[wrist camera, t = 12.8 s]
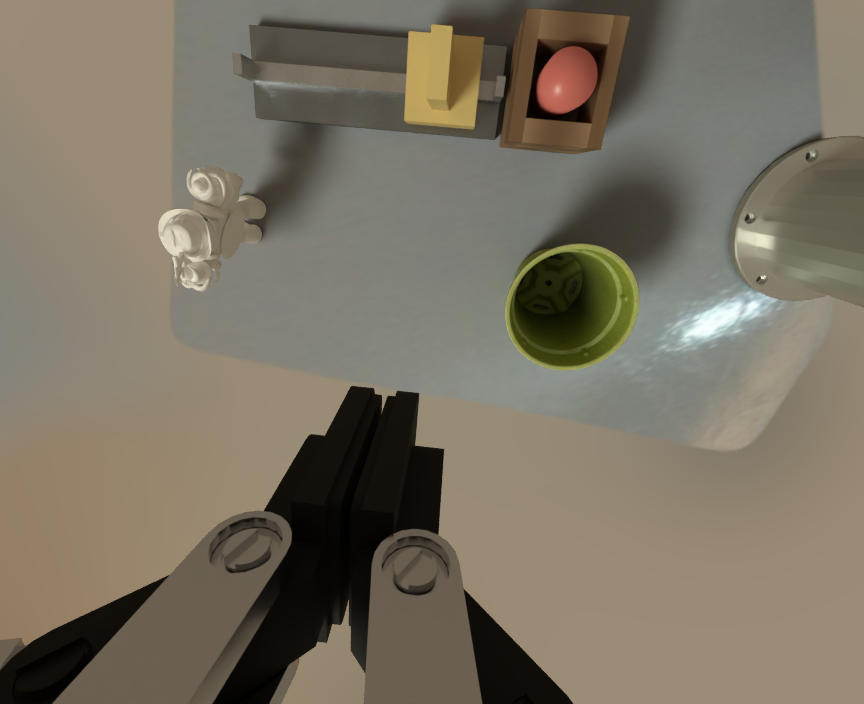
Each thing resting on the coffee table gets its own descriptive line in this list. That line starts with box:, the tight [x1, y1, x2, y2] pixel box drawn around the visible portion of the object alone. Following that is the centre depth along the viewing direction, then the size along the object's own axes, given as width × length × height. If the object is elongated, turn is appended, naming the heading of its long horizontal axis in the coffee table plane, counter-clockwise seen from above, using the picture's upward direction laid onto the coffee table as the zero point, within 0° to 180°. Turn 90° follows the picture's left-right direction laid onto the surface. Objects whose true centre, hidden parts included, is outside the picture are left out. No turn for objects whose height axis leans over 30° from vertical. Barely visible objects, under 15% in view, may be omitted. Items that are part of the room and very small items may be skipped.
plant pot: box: [505, 243, 639, 370], centre depth 34 cm, size 9×9×9 cm
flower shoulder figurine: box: [159, 166, 266, 291], centre depth 32 cm, size 9×4×12 cm, turn 158°
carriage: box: [404, 24, 484, 130], centre depth 28 cm, size 5×5×8 cm
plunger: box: [530, 46, 598, 119], centre depth 27 cm, size 3×3×5 cm
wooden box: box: [500, 8, 630, 154], centre depth 29 cm, size 6×7×7 cm
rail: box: [232, 25, 507, 140], centre depth 31 cm, size 19×6×4 cm, turn 85°
